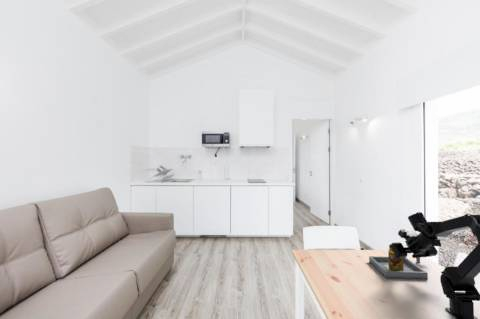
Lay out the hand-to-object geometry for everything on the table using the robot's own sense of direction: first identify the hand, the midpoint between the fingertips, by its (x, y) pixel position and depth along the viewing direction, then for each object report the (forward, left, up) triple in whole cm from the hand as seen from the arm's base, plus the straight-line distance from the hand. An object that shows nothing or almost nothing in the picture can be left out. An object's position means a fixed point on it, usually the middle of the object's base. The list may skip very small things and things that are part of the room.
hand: (403, 257), depth 114 cm
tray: (+7, 0, -9) cm, 11 cm away
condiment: (+6, +1, -8) cm, 10 cm away
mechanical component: (+17, -16, -9) cm, 25 cm away
